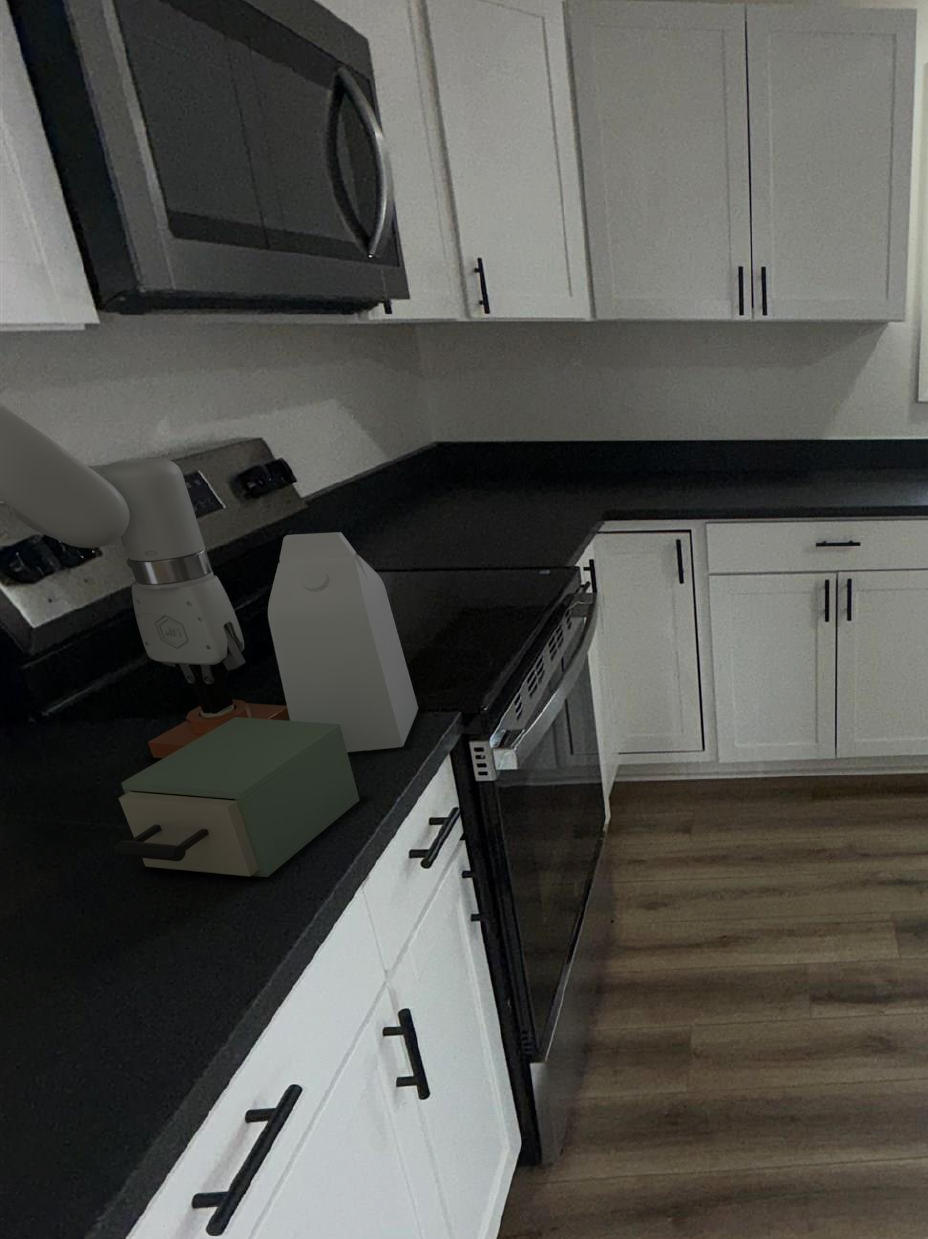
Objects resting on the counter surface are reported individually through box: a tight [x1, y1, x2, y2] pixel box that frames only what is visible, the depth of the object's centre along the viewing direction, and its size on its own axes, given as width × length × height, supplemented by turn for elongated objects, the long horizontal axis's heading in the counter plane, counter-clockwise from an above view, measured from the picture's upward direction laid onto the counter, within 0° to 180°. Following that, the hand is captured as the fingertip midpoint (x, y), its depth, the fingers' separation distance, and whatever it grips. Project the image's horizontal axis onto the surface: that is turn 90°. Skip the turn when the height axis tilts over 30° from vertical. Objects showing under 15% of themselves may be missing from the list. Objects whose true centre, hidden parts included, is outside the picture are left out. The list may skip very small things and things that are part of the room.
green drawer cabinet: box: [120, 717, 360, 878], centre depth 91 cm, size 15×13×10 cm
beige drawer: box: [113, 792, 259, 877], centre depth 88 cm, size 18×11×8 cm, turn 172°
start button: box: [200, 705, 235, 718], centre depth 111 cm, size 4×4×2 cm
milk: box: [267, 531, 419, 753], centre depth 109 cm, size 12×12×26 cm
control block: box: [147, 699, 290, 759], centre depth 112 cm, size 12×10×4 cm
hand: (218, 708), depth 111 cm, fingers closed
